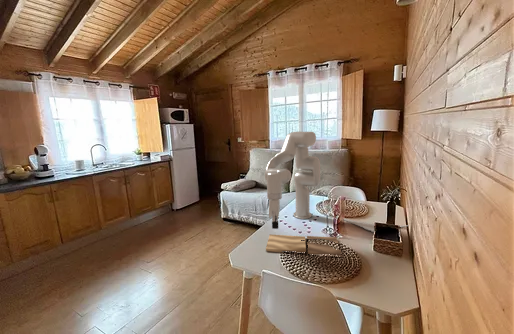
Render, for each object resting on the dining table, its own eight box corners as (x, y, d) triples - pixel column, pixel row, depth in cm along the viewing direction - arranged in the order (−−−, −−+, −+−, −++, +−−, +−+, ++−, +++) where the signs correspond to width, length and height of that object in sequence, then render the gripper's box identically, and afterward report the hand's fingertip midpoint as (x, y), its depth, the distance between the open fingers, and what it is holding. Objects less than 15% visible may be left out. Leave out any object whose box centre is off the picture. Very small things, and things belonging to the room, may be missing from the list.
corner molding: (337, 219, 164) (373, 233, 136) (337, 216, 164) (373, 230, 136) (370, 215, 175) (409, 228, 147) (370, 213, 175) (409, 225, 147)
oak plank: (269, 236, 137) (269, 234, 137) (305, 239, 134) (305, 236, 133) (265, 251, 122) (265, 248, 121) (305, 254, 118) (305, 251, 118)
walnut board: (306, 238, 135) (306, 235, 134) (336, 239, 132) (336, 237, 131) (307, 255, 117) (308, 252, 117) (342, 257, 114) (342, 254, 114)
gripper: (269, 190, 132) (270, 222, 135) (265, 199, 118) (266, 234, 121) (282, 191, 131) (283, 222, 134) (280, 200, 116) (281, 234, 120)
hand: (275, 228), depth 128 cm, fingers closed
